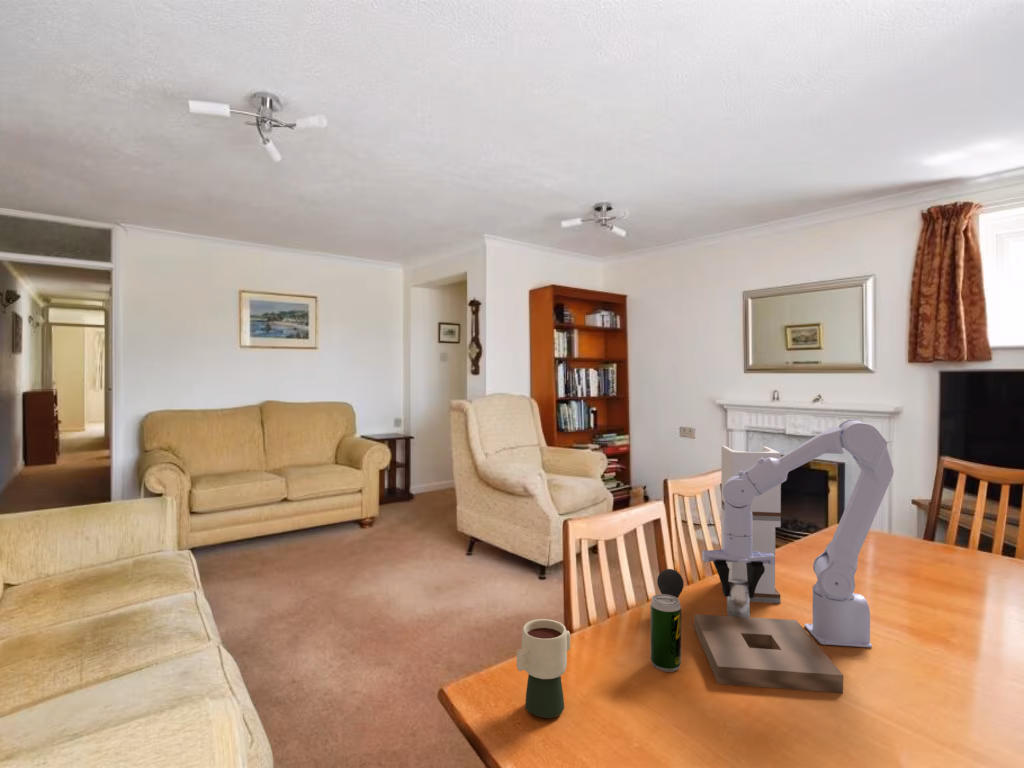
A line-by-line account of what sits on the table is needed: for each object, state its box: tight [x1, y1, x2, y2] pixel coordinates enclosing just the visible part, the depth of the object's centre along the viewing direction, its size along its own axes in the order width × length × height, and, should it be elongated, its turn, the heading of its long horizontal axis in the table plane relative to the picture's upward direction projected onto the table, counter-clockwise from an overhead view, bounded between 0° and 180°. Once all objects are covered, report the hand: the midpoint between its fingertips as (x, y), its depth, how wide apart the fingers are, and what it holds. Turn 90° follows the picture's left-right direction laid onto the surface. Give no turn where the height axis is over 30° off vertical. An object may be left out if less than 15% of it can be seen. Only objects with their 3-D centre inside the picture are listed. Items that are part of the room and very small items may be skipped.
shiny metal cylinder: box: [726, 578, 751, 617], centre depth 114 cm, size 4×4×7 cm
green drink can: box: [650, 593, 682, 673], centre depth 97 cm, size 5×5×12 cm
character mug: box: [516, 618, 571, 719], centre depth 84 cm, size 11×7×13 cm, turn 127°
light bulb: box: [656, 568, 685, 599], centre depth 117 cm, size 6×6×10 cm
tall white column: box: [720, 445, 782, 604], centre depth 129 cm, size 11×11×35 cm
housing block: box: [693, 613, 844, 694], centre depth 99 cm, size 20×20×3 cm
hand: (737, 595), depth 114 cm, fingers closed on shiny metal cylinder, 4 cm apart
